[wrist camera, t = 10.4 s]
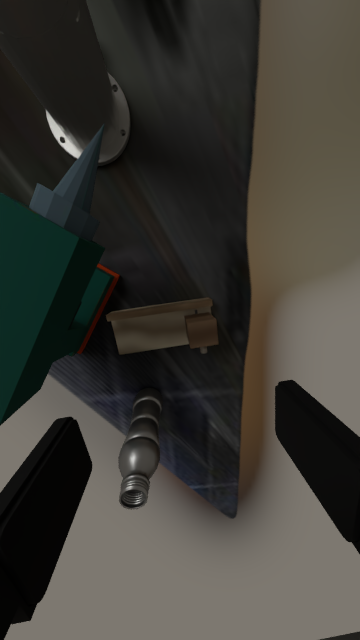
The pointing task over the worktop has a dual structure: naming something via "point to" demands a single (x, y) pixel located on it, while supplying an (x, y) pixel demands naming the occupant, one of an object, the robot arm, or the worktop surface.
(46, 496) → the robot arm
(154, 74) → the worktop surface
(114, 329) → the board
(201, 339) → the brown block with knob
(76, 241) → the power tool
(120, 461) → the plastic bottle
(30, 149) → the worktop surface
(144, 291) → the worktop surface
